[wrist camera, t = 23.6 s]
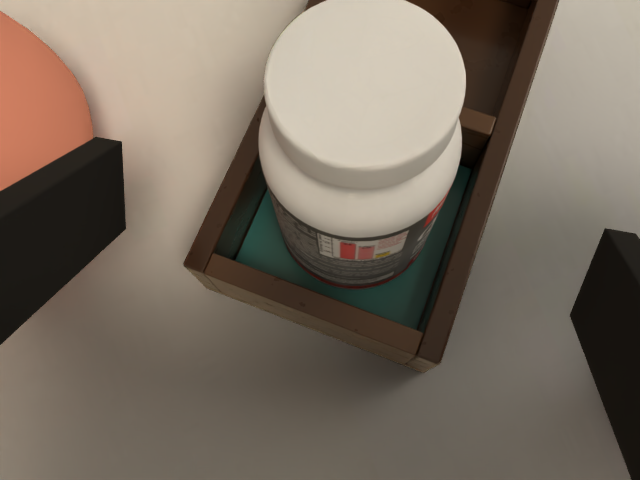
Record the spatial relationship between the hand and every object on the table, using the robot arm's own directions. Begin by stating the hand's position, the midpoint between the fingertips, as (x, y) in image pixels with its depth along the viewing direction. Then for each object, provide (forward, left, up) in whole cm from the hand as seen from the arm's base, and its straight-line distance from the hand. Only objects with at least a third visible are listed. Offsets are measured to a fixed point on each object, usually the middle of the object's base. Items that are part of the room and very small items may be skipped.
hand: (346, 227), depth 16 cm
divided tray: (+1, -7, -7) cm, 10 cm away
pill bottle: (+1, -2, -7) cm, 7 cm away
